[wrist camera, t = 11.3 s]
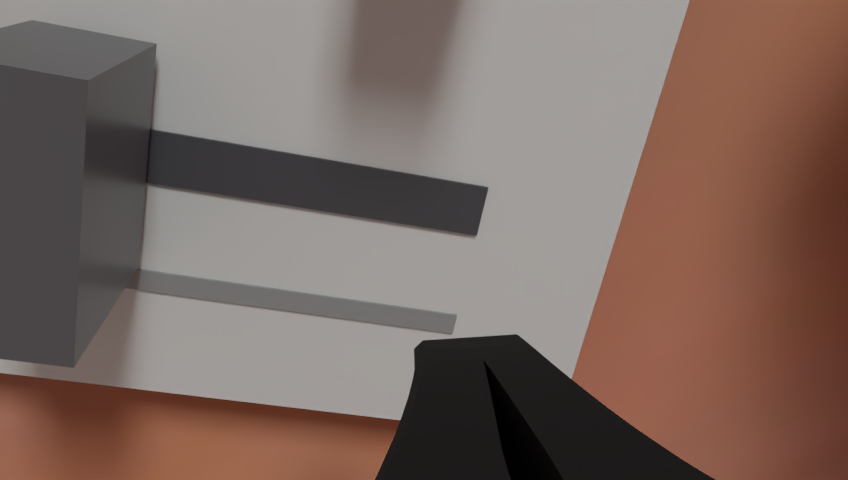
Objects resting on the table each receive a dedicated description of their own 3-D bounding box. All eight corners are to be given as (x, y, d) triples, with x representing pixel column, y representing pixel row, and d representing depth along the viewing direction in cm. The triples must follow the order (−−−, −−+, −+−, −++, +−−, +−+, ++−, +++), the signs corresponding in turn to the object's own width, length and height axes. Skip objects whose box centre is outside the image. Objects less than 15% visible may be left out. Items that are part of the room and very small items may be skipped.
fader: (156, 43, 15) (88, 80, 11) (138, 266, 17) (73, 367, 13) (31, 20, 15) (-86, 49, 11) (26, 250, 17) (-77, 349, 13)
